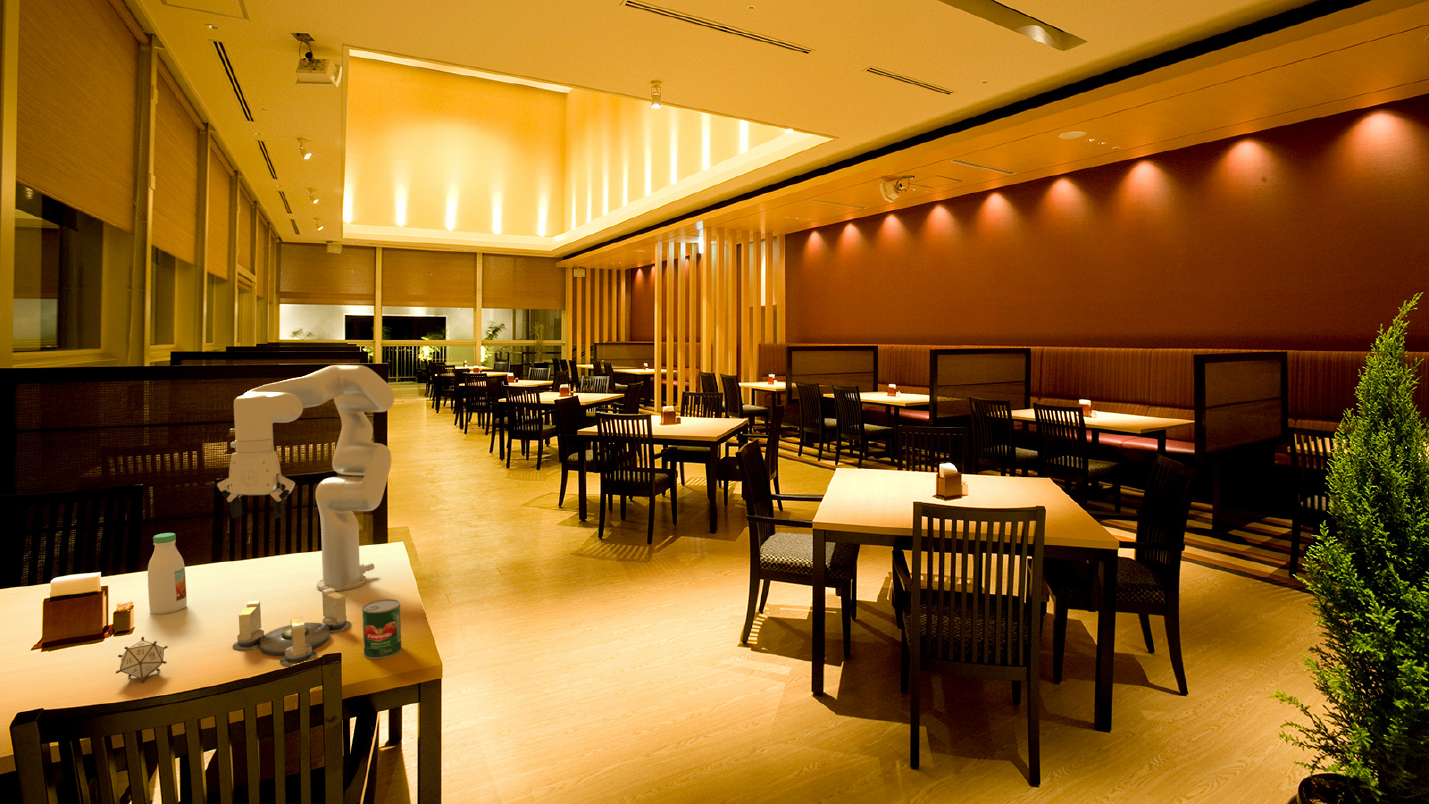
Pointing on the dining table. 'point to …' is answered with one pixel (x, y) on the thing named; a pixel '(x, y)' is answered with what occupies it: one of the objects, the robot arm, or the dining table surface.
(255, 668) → the dining table surface
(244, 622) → the knob
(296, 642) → the knob
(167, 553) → the milk bottle
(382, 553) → the dining table surface
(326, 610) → the knob near
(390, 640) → the canned tomato
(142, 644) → the game die
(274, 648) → the plate
